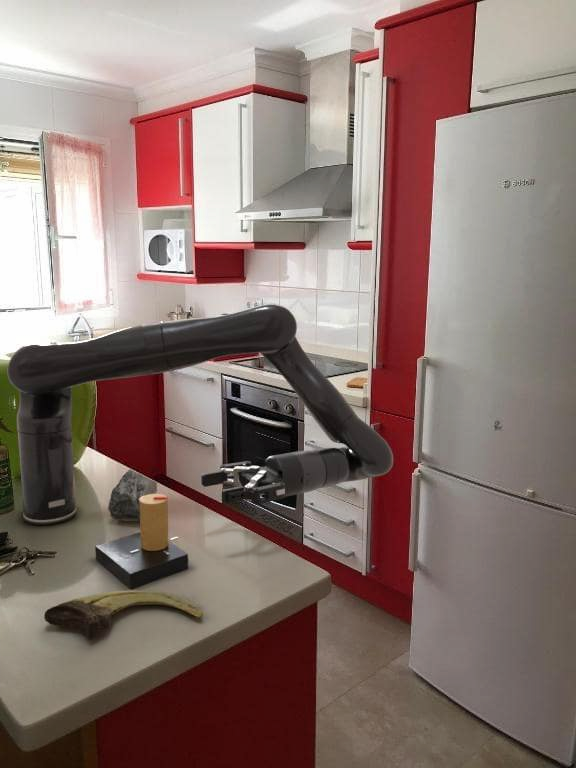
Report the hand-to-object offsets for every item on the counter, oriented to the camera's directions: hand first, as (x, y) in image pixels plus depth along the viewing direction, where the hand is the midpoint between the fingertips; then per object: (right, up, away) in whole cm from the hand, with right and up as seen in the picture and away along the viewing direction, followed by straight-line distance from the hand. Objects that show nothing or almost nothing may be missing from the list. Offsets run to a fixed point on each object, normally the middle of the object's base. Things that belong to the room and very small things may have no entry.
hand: (212, 488), depth 106 cm
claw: (-9, -15, -19) cm, 26 cm away
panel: (-11, -11, -4) cm, 16 cm away
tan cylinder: (-9, -9, -3) cm, 13 cm away
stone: (-16, -8, +14) cm, 22 cm away
